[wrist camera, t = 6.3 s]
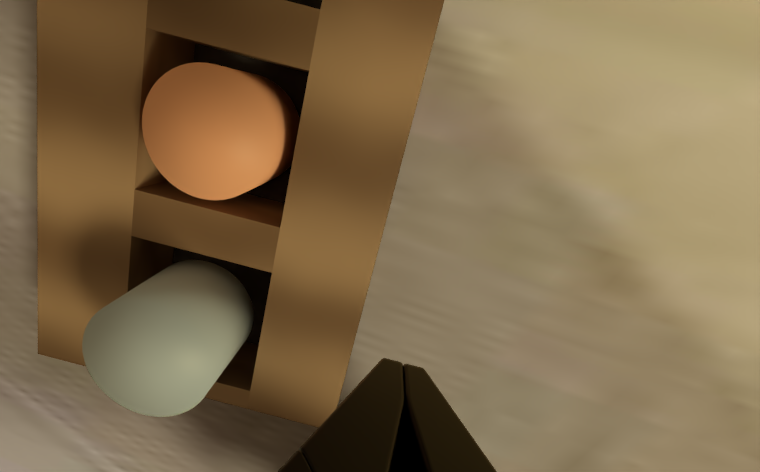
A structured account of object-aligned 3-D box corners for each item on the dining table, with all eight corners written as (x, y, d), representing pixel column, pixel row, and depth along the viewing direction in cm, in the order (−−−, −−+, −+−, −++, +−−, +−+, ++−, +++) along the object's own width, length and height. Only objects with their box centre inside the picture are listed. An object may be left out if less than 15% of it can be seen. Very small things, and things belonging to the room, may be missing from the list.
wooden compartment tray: (342, 383, 22) (330, 430, 19) (93, 317, 23) (38, 353, 19) (482, -146, 15) (501, -217, 12) (117, -242, 15) (36, -339, 12)
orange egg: (291, 194, 19) (261, 214, 16) (191, 168, 19) (137, 181, 16) (310, 88, 18) (282, 82, 14) (203, 60, 18) (147, 46, 14)
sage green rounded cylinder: (245, 367, 19) (204, 430, 16) (145, 341, 19) (80, 398, 16) (261, 275, 18) (220, 319, 14) (154, 247, 18) (84, 284, 14)
